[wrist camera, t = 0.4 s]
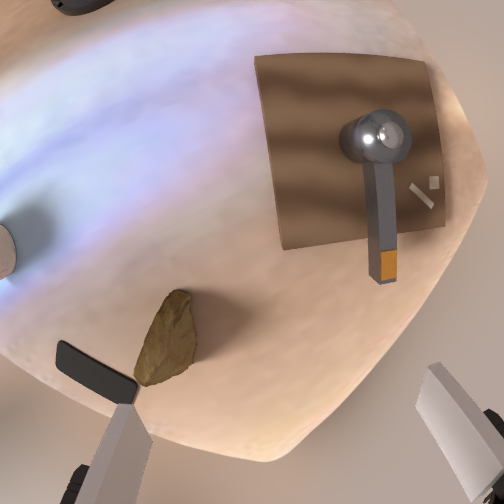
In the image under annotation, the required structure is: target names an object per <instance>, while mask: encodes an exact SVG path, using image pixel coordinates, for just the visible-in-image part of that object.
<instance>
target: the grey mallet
mask: <svg viewBox="0 0 504 504" xmlns="http://www.w3.org/2000/svg"><path fill="white" fill-rule="evenodd" d="M411 144H412V136H411V131H410V128H409V126H408V124H407V122H406V121H405V119H404V118H403V117H402V116H401V115H400V114H398V113H397V112H395V111H393V110H390V109H385V108H384V109H378V110H375V111H373V112H370V113H368V114H366V115H363V116H361V117H359V118H357V119H354V120H352V121H350V122H348V123H346V124H345V125H344V126H343V128H342V129H341V131H340V134H339V145H340V148H341V150H342V152H343V154H344V155H345V156H346V157H347V158H348V159H349V160H350V161H352V162H354V163H357V164H362V169H363V178H364V188H365V200H366V213H367V230H368V256H369V275H370V276H371V277H372V278H373V279H374V280H375V281H376V282H377V283H378V284H379V285H381V284H386V283H390V282H395V281H396V277H397V229H396V205H395V190H394V178H393V167H392V163H397V162H400V161H401V160H403V159H404V158H405V157H406V156H407V155H408V153H409V151H410V149H411Z"/></svg>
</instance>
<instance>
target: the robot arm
mask: <svg viewBox="0 0 504 504" xmlns="http://www.w3.org/2000/svg"><path fill="white" fill-rule="evenodd" d="M111 1H113V0H51V2H52V4H53V6H54V7H55V8H56V9H57V10H59V11H60V12H61V13H63V14H65V15H69V16H77V15H82V14H86V13H89V12H92V11H94V10H96V9H99V8H101V7H102V6H104V5H106V4H108V3H109V2H111ZM415 407H416V409H417V411H418V412H419V414H420V415H421V417H422V418H423V420H424V422H425V423H426V425H427V427H428V428H429V430H430V432H431V433H432V435H433V437H434V438H435V440H436V441H437V443H438V445H439V447H440V448H441V450H442V451H443V453H444V455H445V457H446V458H447V460H448V462H449V464H450V465H451V467H452V469H453V470H454V472H455V474H456V476H457V478H458V480H459V481H460V483H461V485H462V486H463V488H464V490H465V492H466V494H467V496H468V498H469V500H470V501H471V502H473V501H474V500H476V499H477V498H479V497H480V496H482V495H484V494H485V493H486V492H487V491H488V490H489V489H490V488H491V487H492V488H493V491H492V492H491V493H490V494H489V495H488V496H487V497H486V498H485V499H484V502H483V503H486V502H487V501H488V500H489V499H490V501H489V502H488V503H489V504H504V421H503V420H502V418H501V417H500V416H499V415H498V414H497V413H495V412H494V411H492V410H490V409H487V410H486V411H484V412H482V411H481V409H480V408H479V407H478V406H477V404H476V403H475V402H474V401H473V400H472V398H471V397H470V396H469V395H468V394H467V393H466V391H465V390H464V389H463V388H462V386H460V384H459V383H458V382H457V381H456V380H455V379H454V377H453V376H452V375H451V374H450V373H449V372H448V370H447V369H446V368H445V367H444V366H443V365H442V363H441V362H438V363H435V364H432V365H429V366H427V368H426V372H425V376H424V380H423V383H422V387H421V390H420V393H419V397H418V400H417V403H416V406H415ZM152 443H153V441H152V439H151V437H150V436H149V434H148V432H147V430H146V428H145V427H144V425H143V423H142V421H141V419H140V417H139V415H138V413H137V411H136V409H135V407H134V405H133V404H118V406H117V408H116V410H115V412H114V414H113V416H112V418H111V420H110V423H109V425H108V427H107V429H106V431H105V433H104V436H103V438H102V440H101V442H100V445H99V447H98V449H97V451H96V454H95V456H94V458H93V460H92V463H91V465H90V466H87V465H83V464H81V465H80V467H78V468H77V469H76V470H75V471H74V473H73V475H72V477H71V480H70V483H69V484H68V486H67V490H66V491H65V493H64V495H63V498H62V500H61V503H60V504H135V503H136V500H137V496H138V492H139V488H140V485H141V481H142V477H143V474H144V470H145V467H146V463H147V460H148V456H149V453H150V449H151V446H152Z"/></svg>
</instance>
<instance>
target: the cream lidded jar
mask: <svg viewBox="0 0 504 504" xmlns="http://www.w3.org/2000/svg"><path fill="white" fill-rule="evenodd" d="M15 264H16V249H15V245H14V242H13V239H12V237H11V235H10V233H9V231H8V230H7V229H6V228H5V227H4V226H2V225H0V280H1V279H3V278H4V277H6V276H8V275H10V274H11V273H12V272H13V270H14V268H15Z"/></svg>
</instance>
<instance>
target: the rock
mask: <svg viewBox="0 0 504 504" xmlns="http://www.w3.org/2000/svg"><path fill="white" fill-rule="evenodd" d="M190 303H191V297H190V294H188V293H185V292H181V291H178V290H173V291H172V292H171V293H169V296H167V297H166V298H165V299H164V301H163V303H162V306H161V307H160V309H159V311H158V312H157V314H156V316H155V318H154V320H153V323H152V325H151V326H150V328H149V331H148V333H147V335H146V337H145V340H144V345H143V347H142V349H141V352H140V355H139V357H138V360H137V363H136V365H135V368H134V374H133V375H134V377H135V378H136V380H137V381H138V382H139V383H140V384H141V385H142V386H145V387H148V386H150V385H156V384H157V383H162V382H164V381H166V380H167V379H170V378H171V377H172V376H175V375H179V374H181V373H182V372H184V371H185V370H186V369H188V367H189V366H190V365H191V364H193V357H194V352H195V350H196V345H197V342H196V332H195V328H194V326H193V322H192V321H193V318H192V315H191V313H190V309H189V308H190Z"/></svg>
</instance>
